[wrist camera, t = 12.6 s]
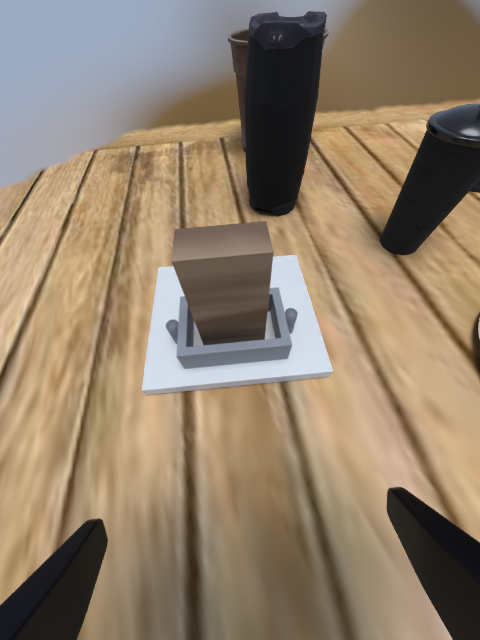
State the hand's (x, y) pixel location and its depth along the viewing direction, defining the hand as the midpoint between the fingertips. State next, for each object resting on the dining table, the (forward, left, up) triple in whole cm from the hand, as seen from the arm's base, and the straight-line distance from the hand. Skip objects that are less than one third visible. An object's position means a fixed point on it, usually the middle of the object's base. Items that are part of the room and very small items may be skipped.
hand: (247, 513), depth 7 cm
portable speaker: (+38, +12, -14) cm, 42 cm away
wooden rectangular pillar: (+11, +7, -12) cm, 18 cm away
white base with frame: (+14, +8, -14) cm, 21 cm away
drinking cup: (+35, -8, -14) cm, 38 cm away
